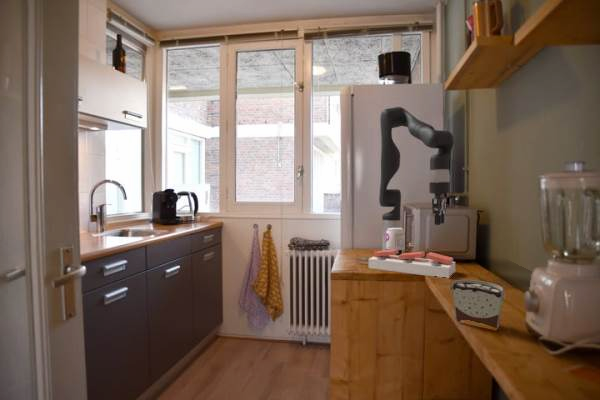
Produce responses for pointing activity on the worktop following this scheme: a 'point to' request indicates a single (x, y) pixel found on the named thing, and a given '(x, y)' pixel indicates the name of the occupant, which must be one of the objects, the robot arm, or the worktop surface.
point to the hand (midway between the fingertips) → (439, 223)
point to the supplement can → (395, 240)
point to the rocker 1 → (386, 252)
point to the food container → (477, 301)
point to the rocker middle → (411, 255)
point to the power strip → (411, 265)
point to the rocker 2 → (439, 258)
